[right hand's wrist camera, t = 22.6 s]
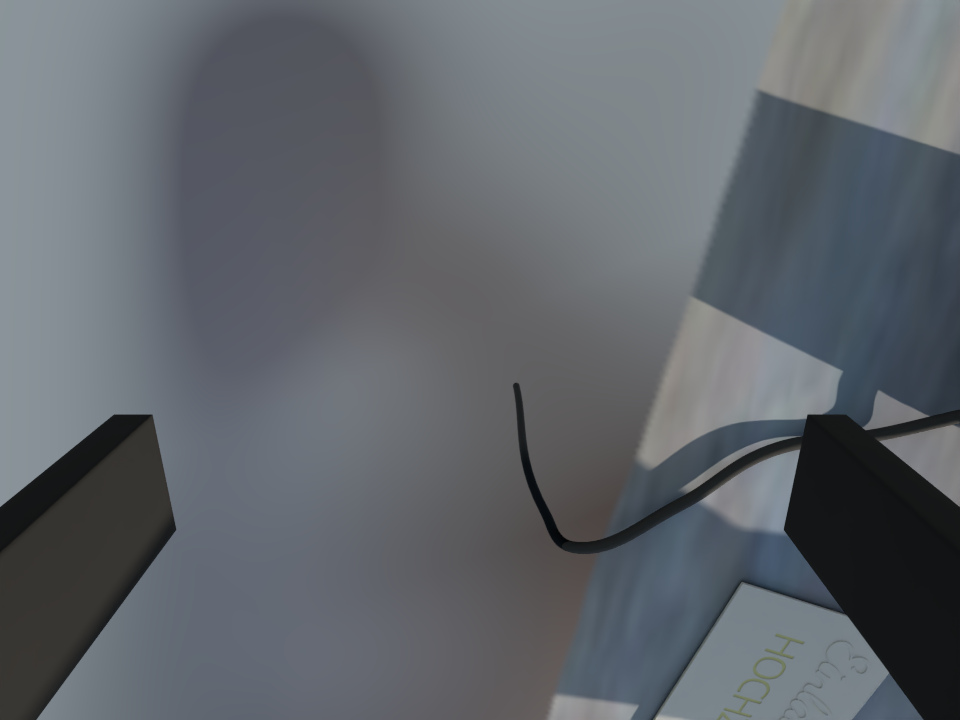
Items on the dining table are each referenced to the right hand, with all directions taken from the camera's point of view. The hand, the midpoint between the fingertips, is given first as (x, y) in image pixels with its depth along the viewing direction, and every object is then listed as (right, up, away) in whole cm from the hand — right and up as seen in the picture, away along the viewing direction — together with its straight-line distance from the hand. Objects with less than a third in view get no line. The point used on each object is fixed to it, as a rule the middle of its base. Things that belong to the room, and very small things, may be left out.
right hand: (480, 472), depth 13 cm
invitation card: (+23, -26, +38) cm, 51 cm away
